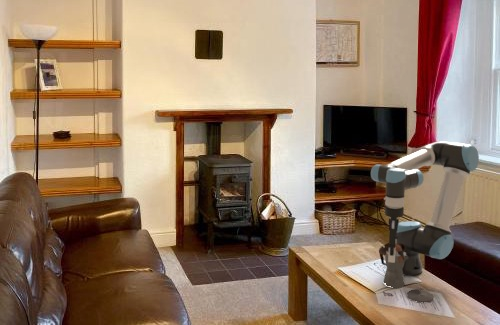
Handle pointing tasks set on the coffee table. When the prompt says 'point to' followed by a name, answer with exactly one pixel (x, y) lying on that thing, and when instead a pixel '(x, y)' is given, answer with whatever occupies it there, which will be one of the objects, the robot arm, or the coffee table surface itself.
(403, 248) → the pottery mug
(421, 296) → the disc
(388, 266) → the coffeepot
